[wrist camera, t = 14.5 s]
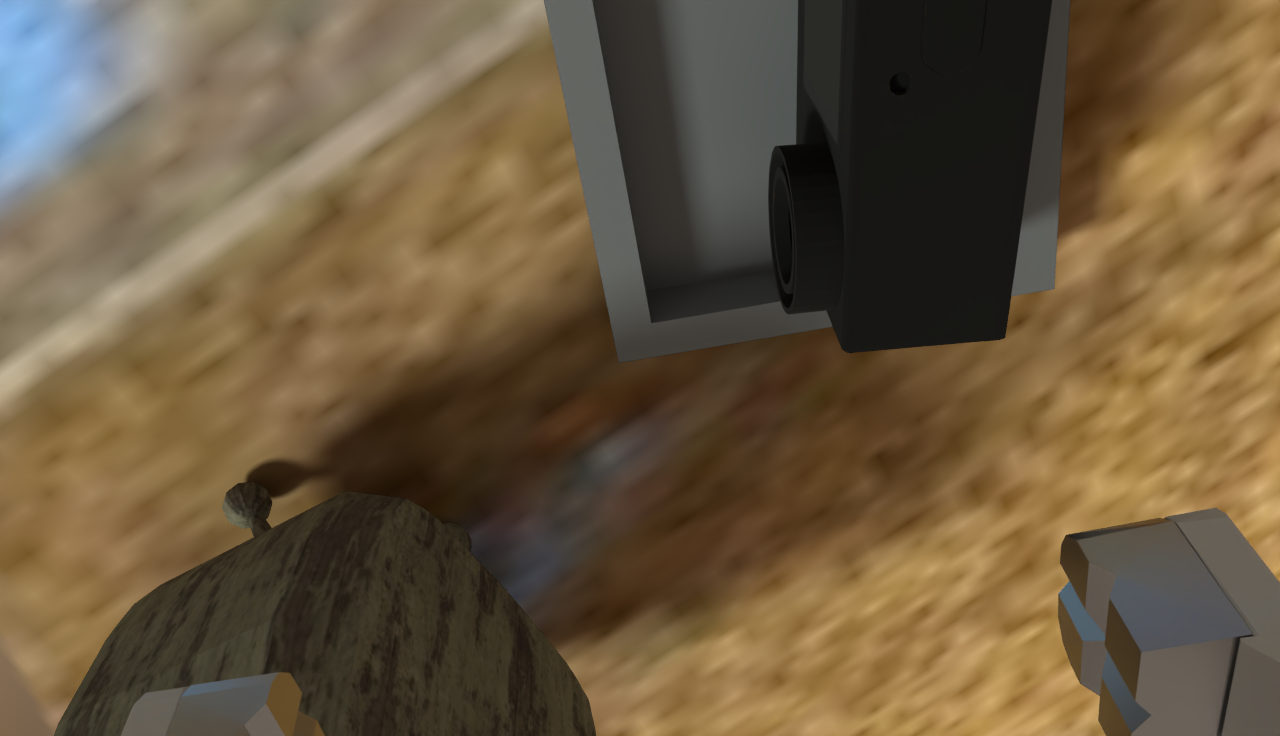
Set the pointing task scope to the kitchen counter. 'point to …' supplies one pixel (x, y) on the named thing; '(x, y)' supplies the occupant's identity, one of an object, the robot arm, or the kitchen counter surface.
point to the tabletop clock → (343, 629)
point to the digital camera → (907, 167)
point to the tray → (721, 162)
